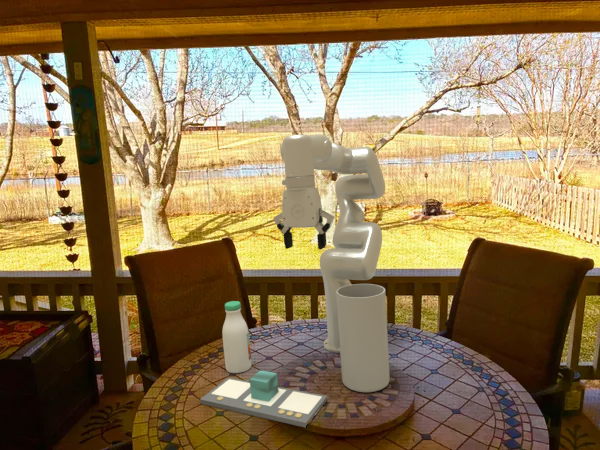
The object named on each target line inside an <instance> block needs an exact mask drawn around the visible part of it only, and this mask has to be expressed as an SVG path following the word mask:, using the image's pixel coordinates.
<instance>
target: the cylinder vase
mask: <svg viewBox="0 0 600 450" xmlns="http://www.w3.org/2000/svg"><path fill="white" fill-rule="evenodd" d="M336 294H337V309H338V325H339V340H340V353H339V354H340V368H341V369H340V370H341V380H342V384H343V385H344V386H345V387H346V388H347V389H350V390H352V391H355V392H357V393H358V392H360V393H373V392H378V391H381V390H383V389H384V388H386V387H387V386H388V385H389V383H390V378H391V377H390V361H389V360H390V358H389V357H390V356H389V341H388V337H389V336H388V318H387V298H386V297H387V296H386V288H385V287H384V286H382V285H379V284H373V283H355V284H352V285H347V286H343V287H341V288H339V289H337V291H336Z"/></svg>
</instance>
